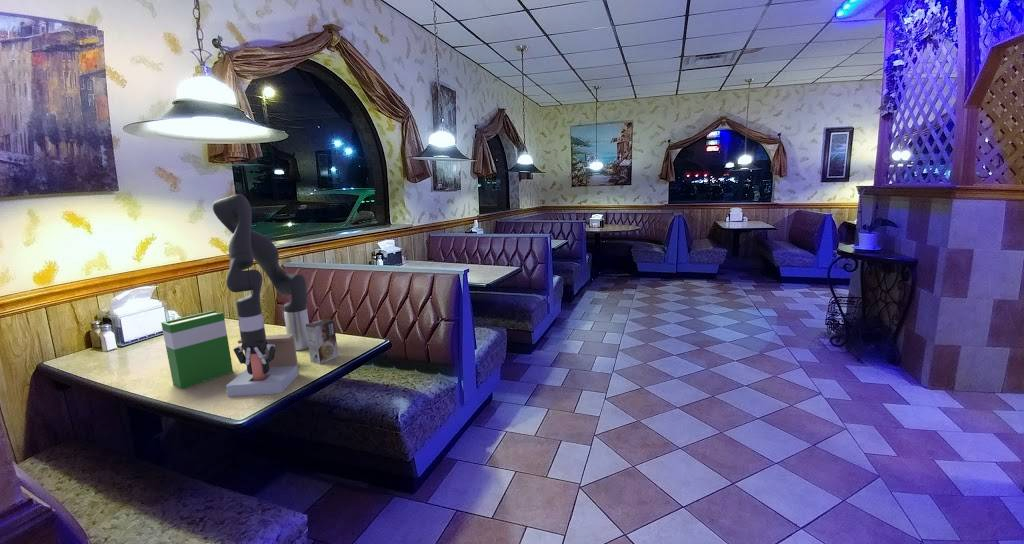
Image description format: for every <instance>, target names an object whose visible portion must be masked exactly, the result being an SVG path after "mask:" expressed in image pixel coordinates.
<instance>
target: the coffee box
mask: <svg viewBox="0 0 1024 544" xmlns="http://www.w3.org/2000/svg"><path fill="white" fill-rule="evenodd" d="M335 327H336V326H335V320H334V319H329V318H321V319H318V320H315V321H312V322H309V324H306V331H307V338H308V345H309V348H308V351H309V359H310V362H311V363H313V364H317V365H323V364H324V363H327V362H329V361H331V360H334V359H336V358H338V357H339V351H338V343H337V336H336V328H335Z"/></svg>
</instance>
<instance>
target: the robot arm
mask: <svg viewBox="0 0 1024 544" xmlns="http://www.w3.org/2000/svg"><path fill="white" fill-rule="evenodd" d="M211 206H212V211H213V213H214V214H215V217H216V218H217V219H218V220H219V222H220V223H222V225H224V227H225V228H226V229H227V230H228V231H229V232H231V234H232V236H231V238H230V240H229V244H228V254H229V255H228V256H229V269H228V273H227V276H226V287H227V289H228V290H229V291H230V292H232V293H242V292H248V291H249V292H250V291H251V293H250V294H249V295H248V296H247V295H246V296H245V297H241V298H239V299H237V300H236V310H237V316H238V329H239V333H240V334H239V335H240V339H241V341H242V343H241V345H240V346H239V345H238V346H236V347H235V348H233V352H234V354H235V356H236V358H237V360H238V362H239V364H240V365H242V364H244V365H246V369H247V372H248V373H249V374H250V375H252V368H251V361H250V354H258V357H259V358H260V359H261V361H262V363H263V364H262V366H263V373H264V374H267V373H268V371H269V362H271V361H272V360H273V359H274V356H275V350H276V344H273V345H271V344H268V342H267V341H266V336H267V334H266V329H265V322H264V317H263V314H262V313H263V312H262V307H261V291H262V287H263V286H262V285H263V276H262V275H263V274H262V273H261V272H260V270H257V269H249V268H251V267H252V266H253V265H254V261H255V262H256V263H257V265H259V267H260V268H261V269H262V270H263V272H264V273H265V274H266V276H267V277H268V279H269V281H270V282H271V284H272V285H273V287H274V288H275V290H276V291H277V292H278V293H279V294H280V295H285V296H290V298H291V300H290V301H289V302H286V303H285V304H283V316H284V322H285V323H284V325H285V328H286V329H285V331H286V334H294V340H295V348H296V352H297V351H303V350H306V349H309V345H308V338H307V331H306V324H309V323H310V322H309V316H308V315H309V314H308V307H307V305H308V291H307V288H308V287H307V281H306V278H305V276H304V275H303V274H301V273H287V272H285V271H284V269H282V267H281V266H280V264H279V259H280V254H279V253H280V252H279V250H278V248H277V246H276V245H275V244H274V243H273V241H272V240H271V239H270V238H269V237H268V236H267V235H265V234H264V233H261V232H258V231H256V230H253V229H252V224H253V223H252V221H253V219H252V217H253V212H252V207H251V204H250V202H249V200H248V199H247V197H245V196H244V195H243V194H242V193H237V194H236V193H235V194H232V195H230V196H226V197H223V198H221V199H217V200H215V201H213V203H212V205H211ZM266 348H268V351H269V355H268V356H267V352H266V350H265V349H266ZM244 351H245V352H246V357H245V352H244ZM262 353H263V355H262Z"/></svg>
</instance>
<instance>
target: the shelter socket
mask: <svg viewBox="0 0 1024 544" xmlns="http://www.w3.org/2000/svg"><path fill="white" fill-rule="evenodd" d="M266 341H267V342H268V344H271V345H273V344H276V350H275V356H274V359H273V360H272V361H271V362H269V371H268V373H267V374H266V379H265V380H264V381H253V374H252V375H250V374H249V373H248V372H247V368H246V369H244V371H242V372H241V373H240V374H239V375H237V376H235V378H233V379H232V380H231V381H230V382H228V383H227V384H226V385H225V389H226V395H227V397H238V396H255V395H270V394H271V395H272V394H282V393H283V392H284V391H285V390H286V388H288V387H289V386H290V385H291V383H292V382H294V380H295V379H296V378H297V377H298V376H299V375H300V372H299V365H298V364H299V363H298V356H297V351H296V348H295V340H294V334H287V333H286V334H272V335H271V334H270V335H268V334H267V335H266ZM237 344H239V345H240V344H242V341H241V338H240V339H238V340H237ZM265 350H266V352H267V356H268V355H269V351H268V348H266V349H265ZM243 353H244V355H245V357H246V352H245V351H244V350H243Z"/></svg>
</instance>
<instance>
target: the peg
mask: <svg viewBox="0 0 1024 544" xmlns="http://www.w3.org/2000/svg"><path fill="white" fill-rule="evenodd" d="M262 355H263V353H262ZM250 361H251V368H252V374H253V381H264V380H265V379H266V374H264V373H263V366H262V364H263V363H262V361H261V359H260V358H259V357H258V354H250Z"/></svg>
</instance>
